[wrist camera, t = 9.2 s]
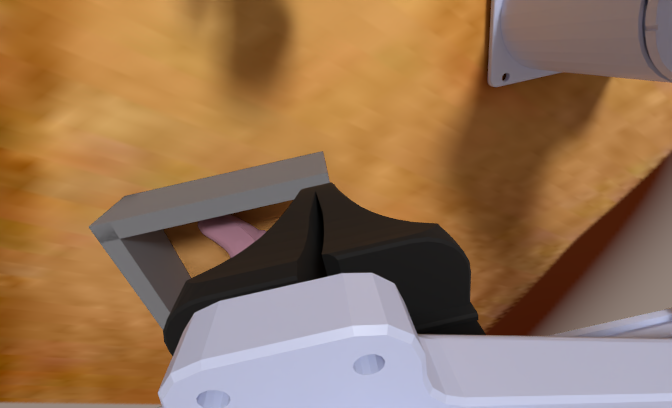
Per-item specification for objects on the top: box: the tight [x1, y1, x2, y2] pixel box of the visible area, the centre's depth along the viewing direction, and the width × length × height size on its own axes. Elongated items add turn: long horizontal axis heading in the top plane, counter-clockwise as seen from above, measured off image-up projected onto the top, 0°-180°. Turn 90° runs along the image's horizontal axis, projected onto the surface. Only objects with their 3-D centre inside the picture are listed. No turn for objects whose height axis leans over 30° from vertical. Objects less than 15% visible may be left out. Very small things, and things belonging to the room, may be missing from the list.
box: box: [89, 151, 330, 330], centre depth 24 cm, size 14×20×4 cm
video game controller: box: [198, 214, 266, 258], centre depth 22 cm, size 10×5×7 cm, turn 174°
